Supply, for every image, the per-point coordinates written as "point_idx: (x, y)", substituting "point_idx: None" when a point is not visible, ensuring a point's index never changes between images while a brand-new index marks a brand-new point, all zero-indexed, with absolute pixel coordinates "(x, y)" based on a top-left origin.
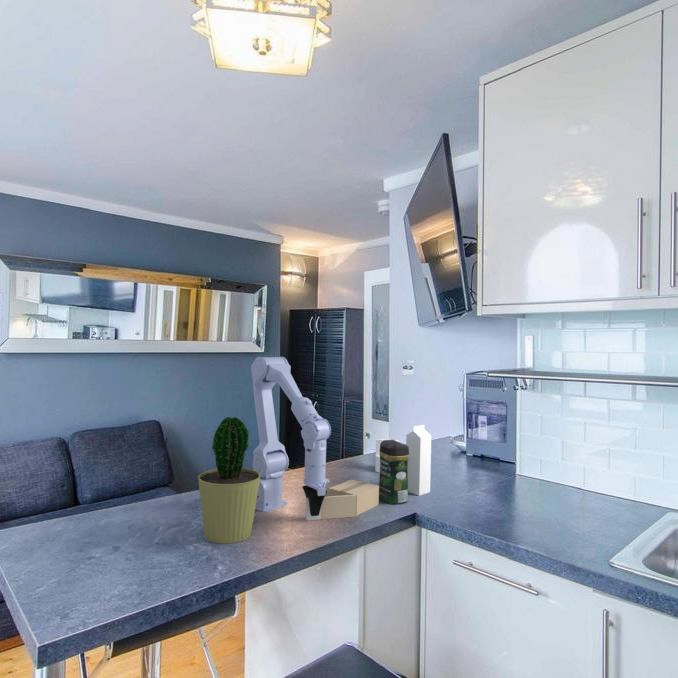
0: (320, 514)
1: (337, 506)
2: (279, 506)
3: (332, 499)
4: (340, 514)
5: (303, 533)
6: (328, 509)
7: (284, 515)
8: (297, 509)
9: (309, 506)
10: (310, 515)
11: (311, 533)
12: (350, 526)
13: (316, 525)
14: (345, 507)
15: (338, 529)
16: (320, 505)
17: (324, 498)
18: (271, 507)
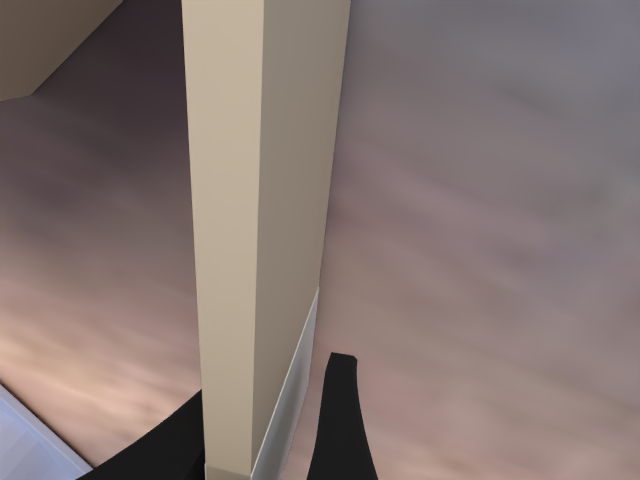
0: (308, 314)
1: (308, 161)
2: (35, 429)
3: (267, 295)
4: (336, 87)
5: (526, 472)
6: (303, 265)
7: None
8: (59, 336)
9: (278, 472)
10: (303, 389)
11: (559, 437)
12: (624, 48)
13: (418, 349)
14: (326, 8)
15: (619, 221)
16: (368, 450)
17: (256, 424)
18: (61, 471)
